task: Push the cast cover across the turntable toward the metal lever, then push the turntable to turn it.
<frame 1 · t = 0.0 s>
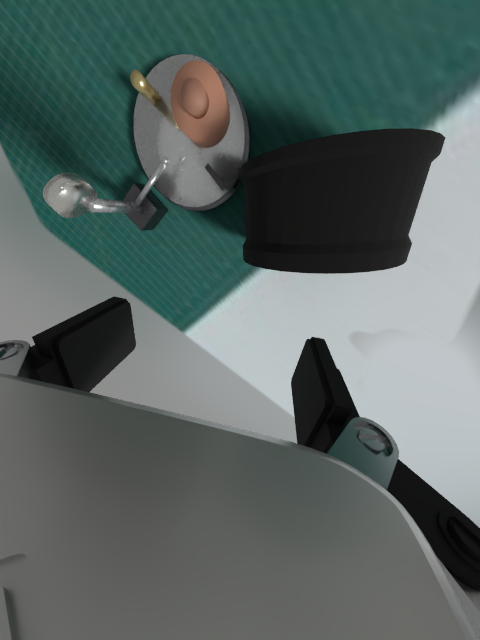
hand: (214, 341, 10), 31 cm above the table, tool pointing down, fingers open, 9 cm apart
cast cover: (205, 115, 27), point 3 cm above the table, touching turntable
car wheel rim: (307, 215, 34), on the table
turntable base: (194, 147, 32), on the table
turntable: (184, 138, 28), point 4 cm above the table, hinge at 0.0°, touching cast cover
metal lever: (150, 208, 37), on the table
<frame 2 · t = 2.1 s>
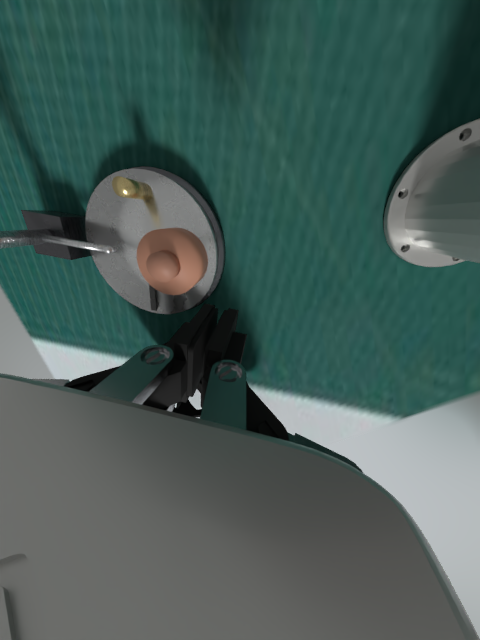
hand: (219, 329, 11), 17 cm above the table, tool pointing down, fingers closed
cast cover: (180, 258, 24), point 3 cm above the table, touching turntable
car wheel rim: (208, 368, 36), on the table
turntable base: (162, 249, 27), on the table
turntable: (144, 254, 23), point 4 cm above the table, hinge at 0.0°, touching cast cover
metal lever: (75, 233, 28), on the table
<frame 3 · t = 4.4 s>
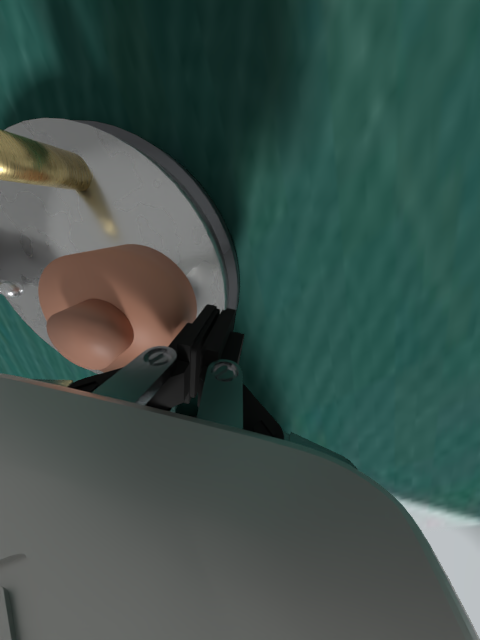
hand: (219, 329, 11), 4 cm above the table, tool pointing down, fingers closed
cast cover: (146, 300, 13), point 3 cm above the table, touching gripper, turntable
turntable base: (129, 278, 16), on the table
turntable: (85, 297, 12), point 4 cm above the table, hinge at 0.0°, touching cast cover
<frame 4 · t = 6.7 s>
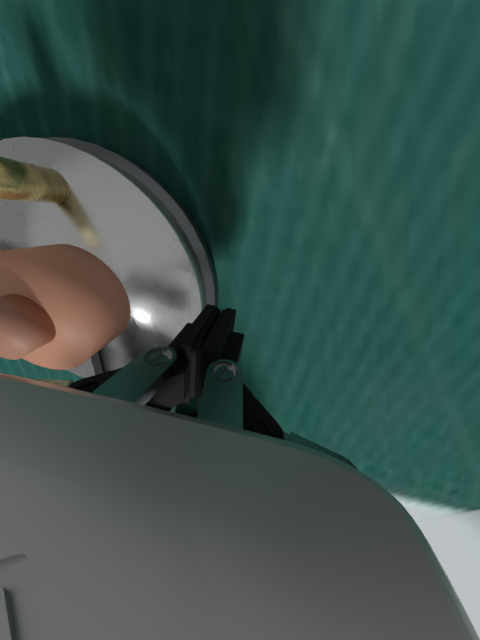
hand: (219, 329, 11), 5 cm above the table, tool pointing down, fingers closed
cast cover: (82, 297, 14), point 3 cm above the table, touching turntable
turntable base: (112, 284, 16), on the table
turntable: (66, 304, 13), point 4 cm above the table, hinge at 0.1°, touching cast cover
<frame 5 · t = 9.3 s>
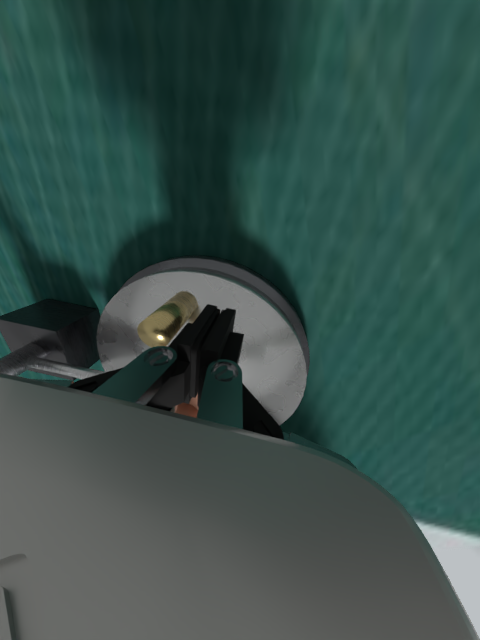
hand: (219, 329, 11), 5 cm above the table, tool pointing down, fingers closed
turntable base: (207, 354, 18), on the table
turntable: (191, 388, 15), point 4 cm above the table, hinge at 9.7°, touching cast cover, gripper
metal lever: (79, 326, 19), on the table
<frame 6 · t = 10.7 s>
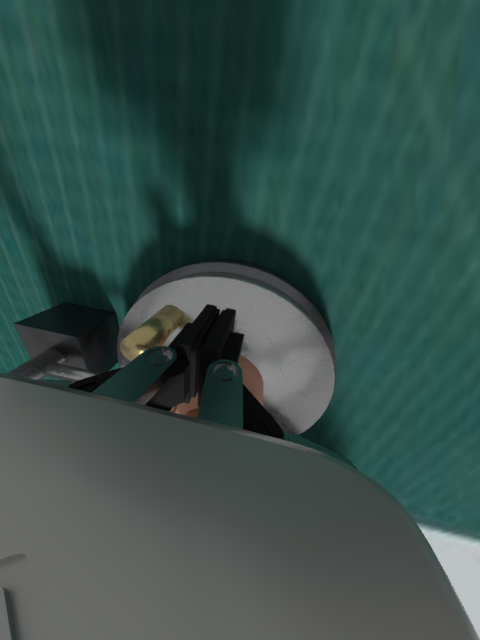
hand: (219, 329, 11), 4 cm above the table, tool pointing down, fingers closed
cast cover: (219, 383, 15), point 3 cm above the table, touching turntable
turntable base: (227, 359, 18), on the table
turntable: (215, 396, 14), point 4 cm above the table, hinge at 35.6°, touching cast cover
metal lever: (95, 331, 19), on the table
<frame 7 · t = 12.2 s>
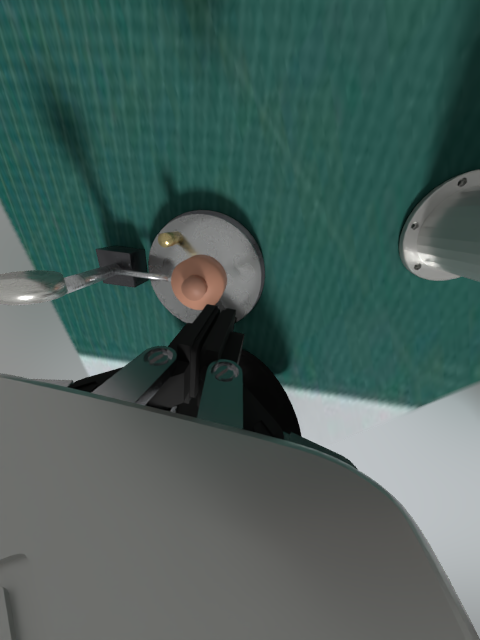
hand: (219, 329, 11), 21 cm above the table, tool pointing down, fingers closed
cast cover: (203, 278, 29), point 3 cm above the table, touching turntable
car wheel rim: (243, 373, 41), on the table
turntable base: (208, 273, 32), on the table
turntable: (201, 281, 28), point 4 cm above the table, hinge at 35.6°, touching cast cover
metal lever: (132, 263, 32), on the table
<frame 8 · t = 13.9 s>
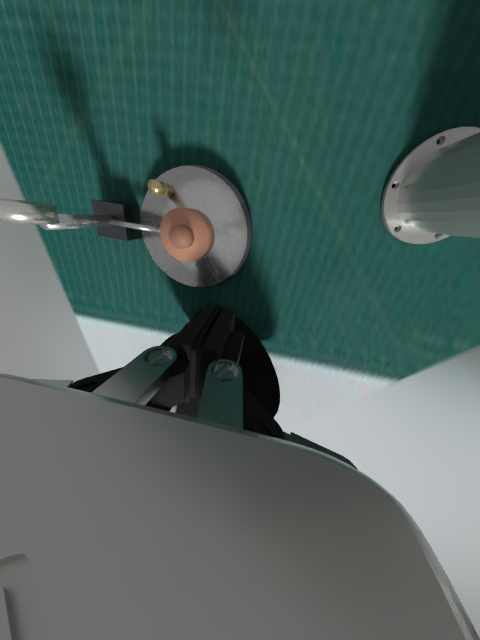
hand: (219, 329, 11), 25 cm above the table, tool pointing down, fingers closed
cast cover: (192, 234, 30), point 3 cm above the table, touching turntable
car wheel rim: (231, 338, 42), on the table
turntable base: (199, 233, 33), on the table
turntable: (189, 235, 29), point 4 cm above the table, hinge at 35.6°, touching cast cover
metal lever: (126, 220, 34), on the table
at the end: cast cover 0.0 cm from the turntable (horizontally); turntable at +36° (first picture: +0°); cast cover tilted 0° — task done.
